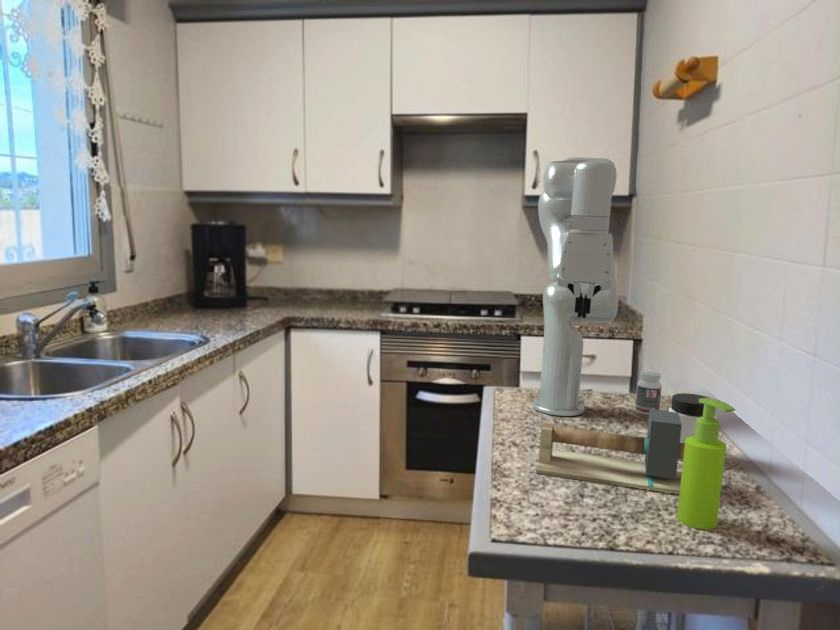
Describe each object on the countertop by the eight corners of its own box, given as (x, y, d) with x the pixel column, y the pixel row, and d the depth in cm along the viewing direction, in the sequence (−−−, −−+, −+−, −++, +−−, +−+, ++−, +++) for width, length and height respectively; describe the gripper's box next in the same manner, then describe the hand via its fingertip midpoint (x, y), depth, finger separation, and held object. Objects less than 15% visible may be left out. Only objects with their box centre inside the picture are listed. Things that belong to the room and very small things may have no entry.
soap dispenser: (702, 535, 101) (717, 408, 98) (668, 515, 108) (681, 395, 104) (730, 529, 104) (745, 405, 101) (696, 510, 110) (709, 393, 107)
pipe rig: (543, 451, 134) (546, 416, 133) (703, 474, 126) (708, 436, 124) (535, 473, 123) (538, 434, 121) (711, 500, 114) (716, 458, 113)
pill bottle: (662, 416, 162) (666, 376, 161) (638, 415, 162) (642, 375, 161) (654, 409, 168) (658, 371, 166) (631, 408, 168) (635, 370, 166)
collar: (644, 460, 126) (649, 409, 125) (672, 464, 125) (678, 412, 123) (646, 474, 119) (651, 420, 117) (675, 479, 118) (681, 424, 116)
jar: (692, 466, 130) (698, 406, 128) (656, 452, 136) (662, 396, 135) (718, 458, 135) (725, 401, 133) (683, 445, 141) (689, 391, 140)
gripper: (549, 224, 131) (542, 316, 134) (628, 227, 126) (620, 322, 129) (553, 223, 138) (546, 311, 141) (628, 227, 134) (620, 317, 136)
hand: (581, 316), depth 135 cm, fingers closed
